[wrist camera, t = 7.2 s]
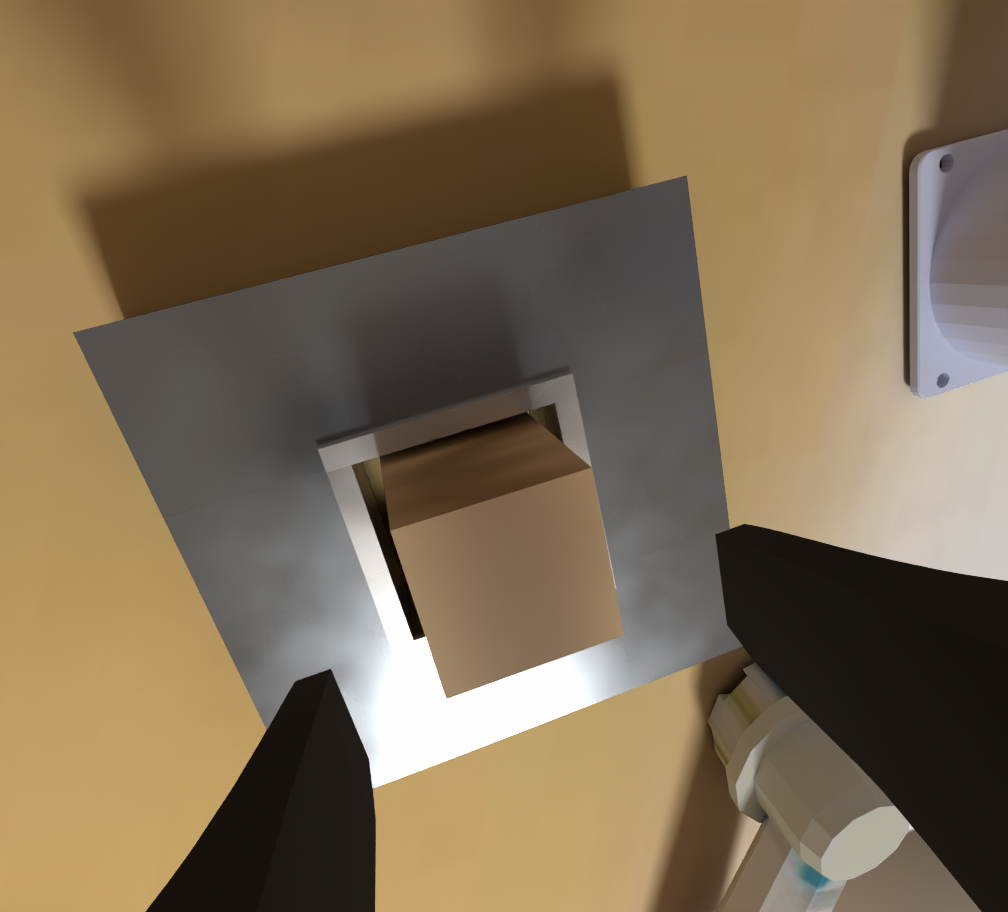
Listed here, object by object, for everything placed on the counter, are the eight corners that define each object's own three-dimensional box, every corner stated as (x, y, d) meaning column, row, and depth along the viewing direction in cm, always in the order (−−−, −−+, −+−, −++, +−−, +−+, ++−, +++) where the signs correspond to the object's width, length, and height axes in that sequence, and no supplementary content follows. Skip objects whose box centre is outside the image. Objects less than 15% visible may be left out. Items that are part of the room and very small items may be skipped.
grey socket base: (632, 190, 17) (691, 174, 14) (694, 598, 22) (747, 649, 19) (123, 319, 15) (69, 333, 12) (313, 737, 20) (307, 819, 17)
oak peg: (506, 395, 18) (591, 467, 12) (534, 512, 20) (624, 635, 13) (376, 432, 18) (390, 531, 11) (414, 550, 19) (446, 699, 13)
